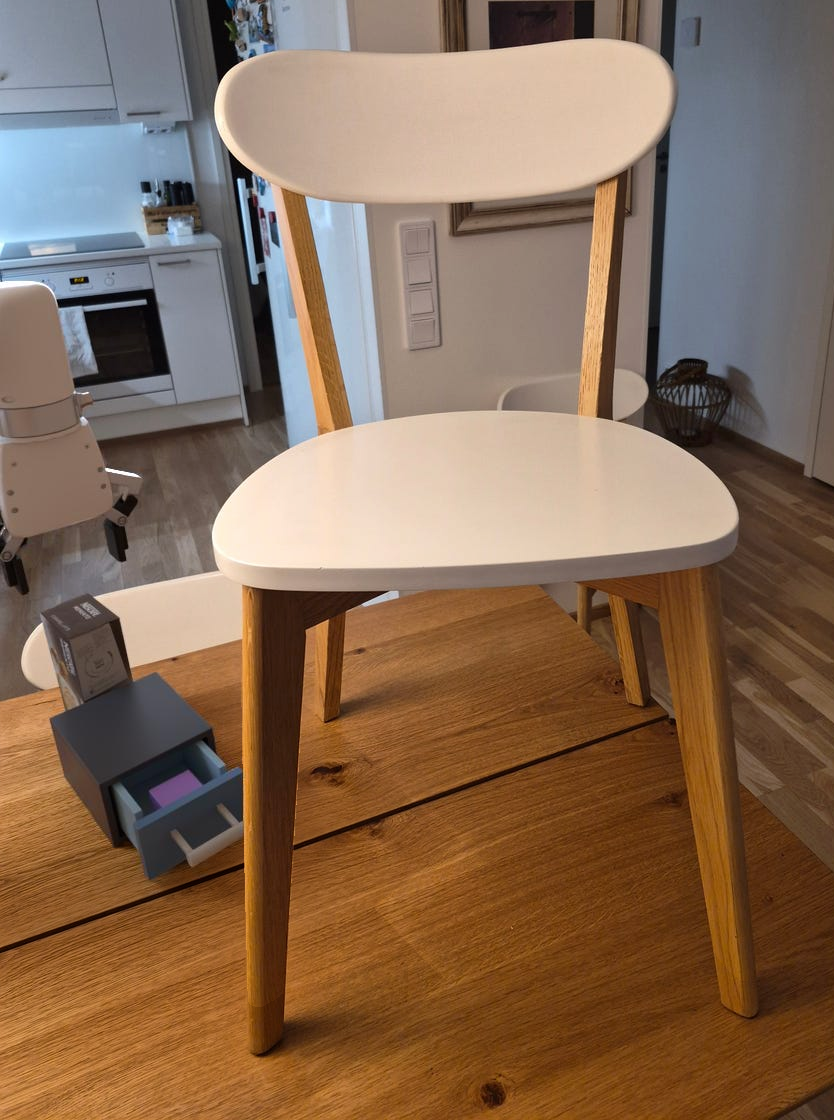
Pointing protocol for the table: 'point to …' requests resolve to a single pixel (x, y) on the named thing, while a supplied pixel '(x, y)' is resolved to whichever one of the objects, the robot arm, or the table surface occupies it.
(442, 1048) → the table surface
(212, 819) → the blue drawer
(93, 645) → the coffee box
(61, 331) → the robot arm
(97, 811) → the dark grey drawer cabinet
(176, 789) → the cube
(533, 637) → the table surface
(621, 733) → the table surface
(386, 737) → the table surface
